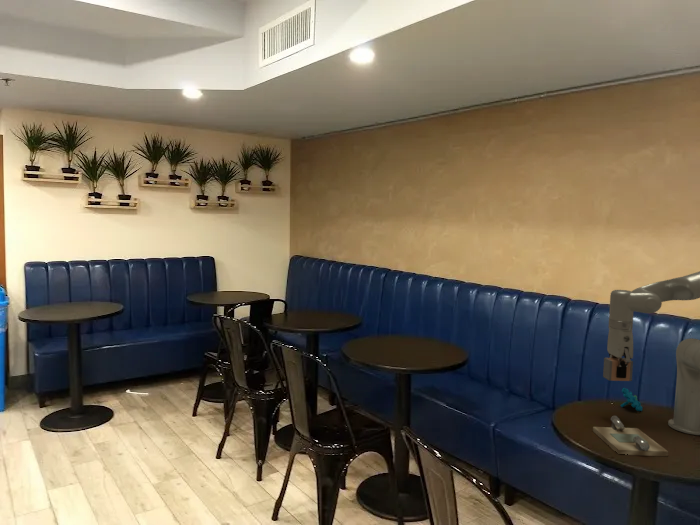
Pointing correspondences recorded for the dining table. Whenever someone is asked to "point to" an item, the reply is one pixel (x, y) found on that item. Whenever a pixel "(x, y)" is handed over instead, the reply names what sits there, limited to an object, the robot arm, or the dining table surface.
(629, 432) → the base
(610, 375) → the orange and grey block
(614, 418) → the shaft angled
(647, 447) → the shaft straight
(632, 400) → the gear
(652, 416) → the dining table surface
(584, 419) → the dining table surface
